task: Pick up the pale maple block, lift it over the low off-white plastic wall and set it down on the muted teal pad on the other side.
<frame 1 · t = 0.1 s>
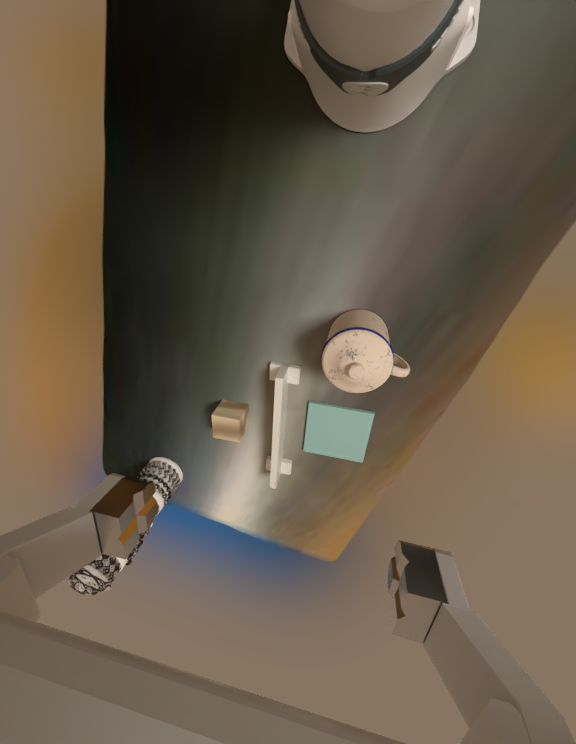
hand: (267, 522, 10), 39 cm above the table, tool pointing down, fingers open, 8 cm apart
decorative candle: (166, 470, 72), on the table
teacup with lid: (366, 339, 48), on the table
divider wall: (282, 421, 58), on the table
maple block: (235, 412, 59), on the table
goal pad: (336, 431, 56), on the table
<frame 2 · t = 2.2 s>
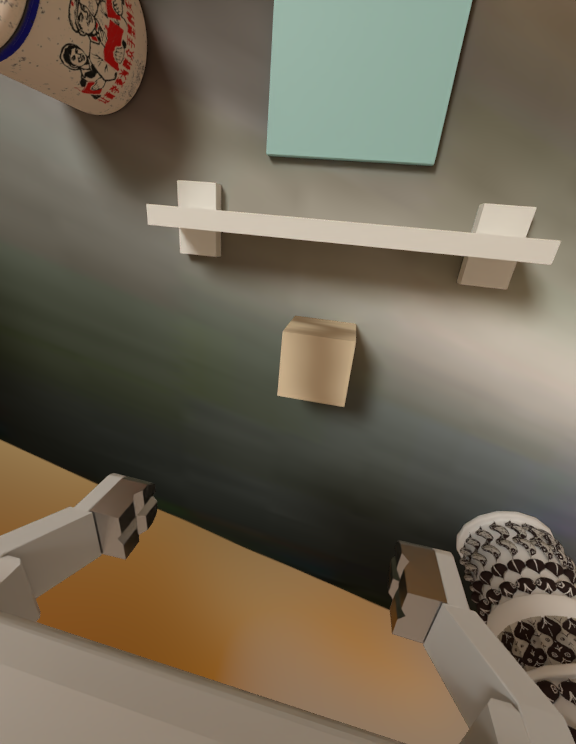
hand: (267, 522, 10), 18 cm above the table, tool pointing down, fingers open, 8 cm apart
decorative candle: (501, 542, 31), on the table
teacup with lid: (96, 13, 21), on the table
divider wall: (337, 233, 23), on the table
maple block: (321, 348, 27), on the table
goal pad: (362, 53, 19), on the table
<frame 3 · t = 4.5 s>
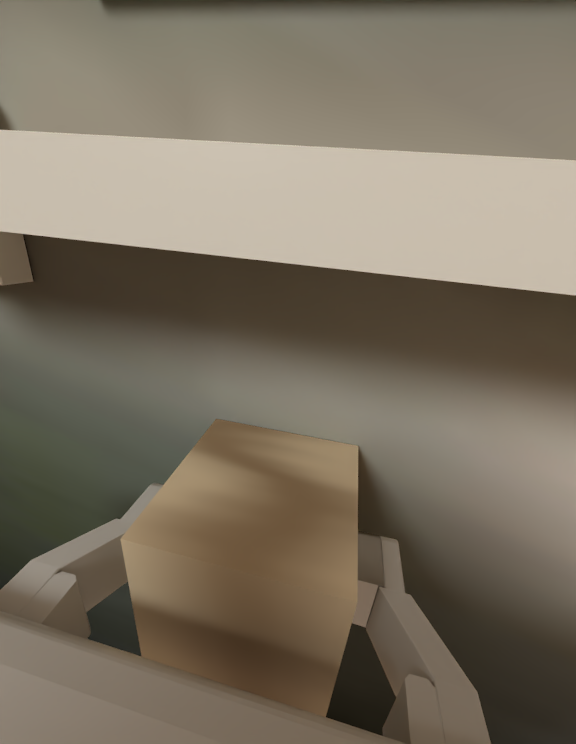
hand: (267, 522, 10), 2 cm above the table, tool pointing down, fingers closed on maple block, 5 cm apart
divider wall: (306, 223, 8), on the table
maple block: (279, 487, 12), on the table, touching gripper
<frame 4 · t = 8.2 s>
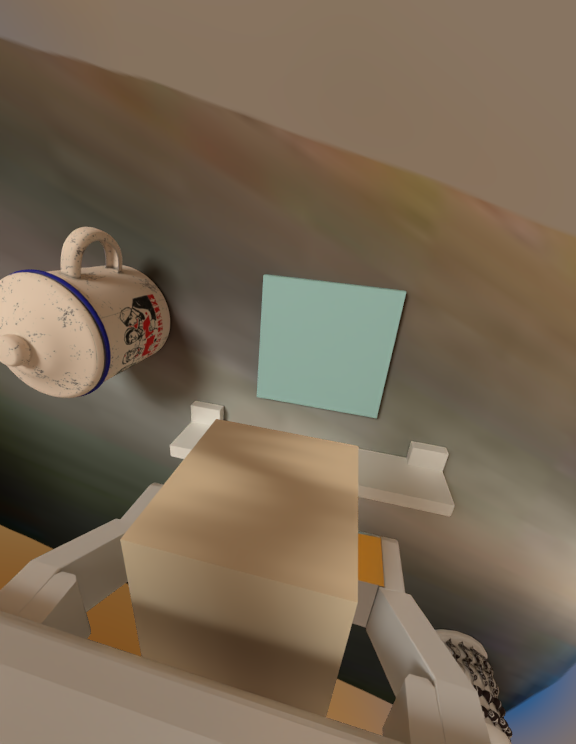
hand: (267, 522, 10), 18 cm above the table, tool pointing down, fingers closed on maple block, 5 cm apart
decorative candle: (446, 649, 39), on the table
teacup with lid: (133, 297, 29), on the table
divider wall: (310, 444, 31), on the table
maple block: (279, 487, 12), point 17 cm above the table, touching gripper
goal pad: (323, 348, 27), on the table
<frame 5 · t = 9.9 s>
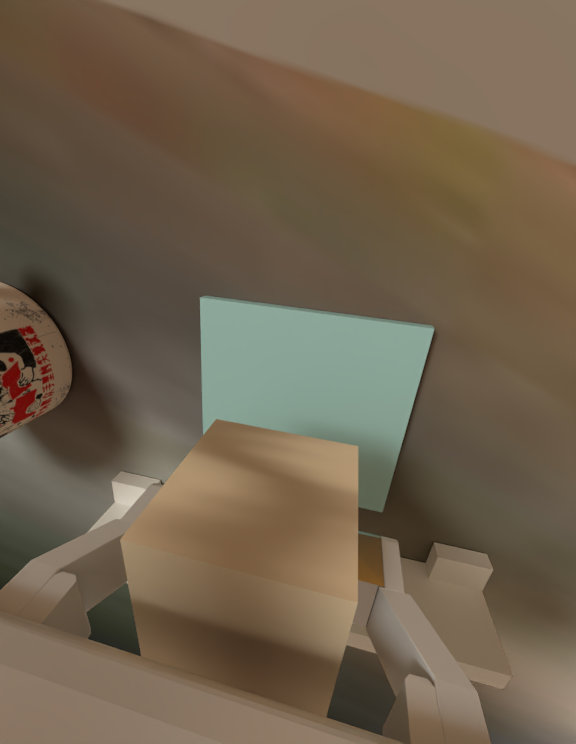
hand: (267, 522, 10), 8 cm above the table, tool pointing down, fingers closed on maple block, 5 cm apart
teacup with lid: (17, 327, 19), on the table
divider wall: (285, 536, 21), on the table
maple block: (279, 487, 12), point 6 cm above the table, touching gripper
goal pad: (300, 408, 17), on the table
when the fingers open (4 cm above the table, at t = 11.6 s): maple block drops 1 cm, resting on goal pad.
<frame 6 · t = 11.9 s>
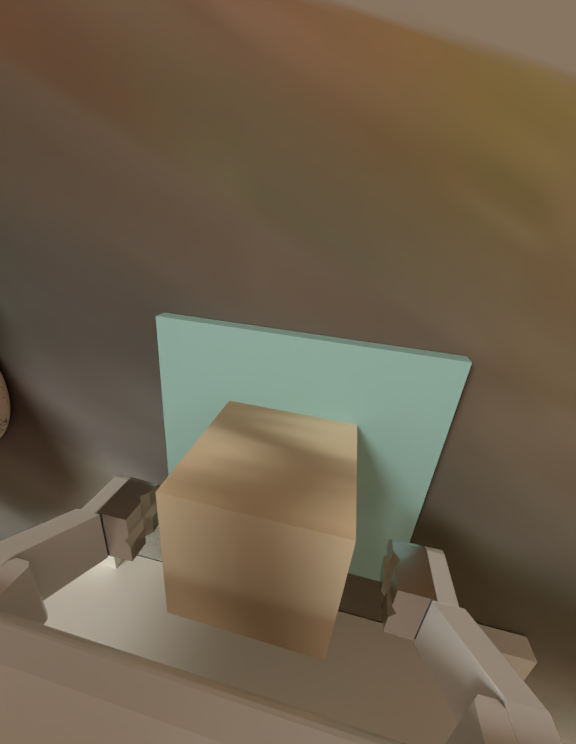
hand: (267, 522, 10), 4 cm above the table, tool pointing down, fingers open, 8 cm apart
divider wall: (274, 600, 18), on the table
maple block: (285, 464, 13), point 1 cm above the table, touching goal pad
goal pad: (290, 455, 14), on the table
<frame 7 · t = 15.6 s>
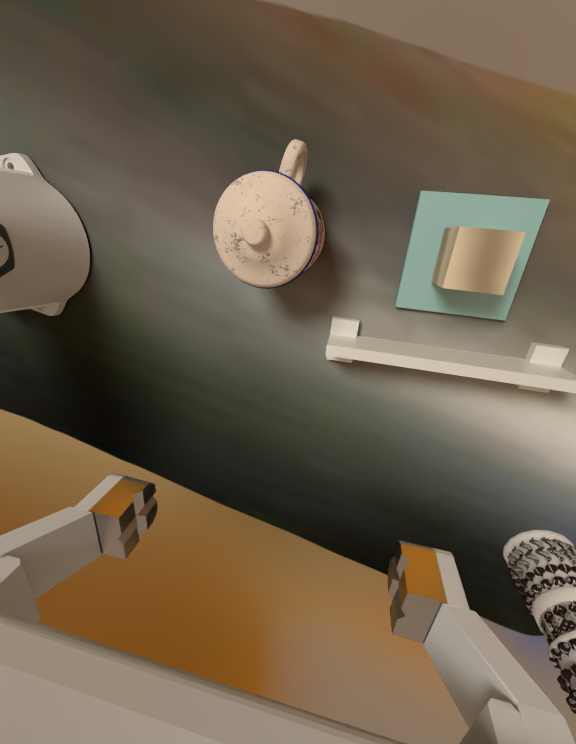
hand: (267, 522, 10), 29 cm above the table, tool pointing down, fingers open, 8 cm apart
decorative candle: (536, 551, 43), on the table
teacup with lid: (290, 220, 34), on the table
divider wall: (436, 351, 36), on the table
maple block: (464, 258, 31), point 1 cm above the table, touching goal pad
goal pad: (463, 258, 32), on the table
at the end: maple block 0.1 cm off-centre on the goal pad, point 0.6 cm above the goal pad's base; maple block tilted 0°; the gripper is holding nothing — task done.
